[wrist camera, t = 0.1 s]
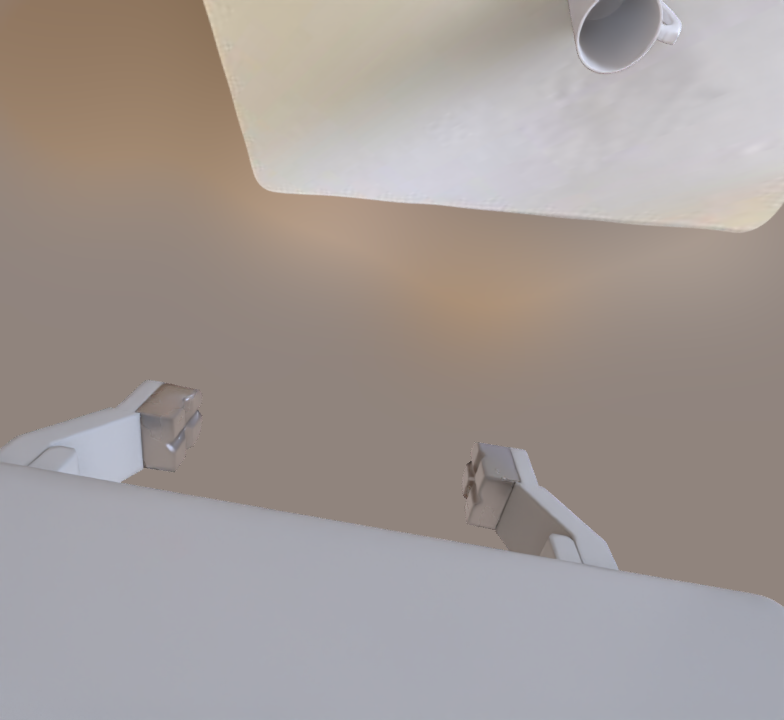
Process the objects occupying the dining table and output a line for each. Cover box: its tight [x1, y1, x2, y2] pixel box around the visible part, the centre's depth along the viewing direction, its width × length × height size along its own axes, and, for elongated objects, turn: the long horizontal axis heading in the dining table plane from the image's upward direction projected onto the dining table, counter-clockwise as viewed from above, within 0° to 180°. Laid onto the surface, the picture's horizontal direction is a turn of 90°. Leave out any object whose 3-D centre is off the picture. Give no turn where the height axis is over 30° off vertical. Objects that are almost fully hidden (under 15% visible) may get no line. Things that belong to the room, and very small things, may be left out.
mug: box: [568, 0, 682, 74], centre depth 43 cm, size 10×7×12 cm, turn 82°
